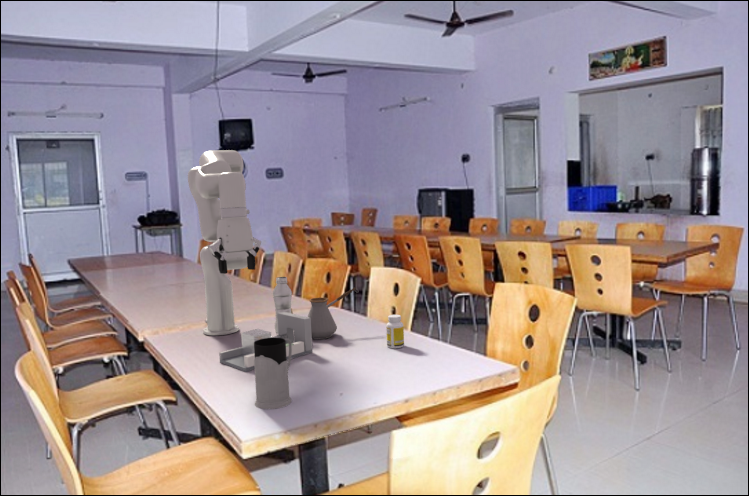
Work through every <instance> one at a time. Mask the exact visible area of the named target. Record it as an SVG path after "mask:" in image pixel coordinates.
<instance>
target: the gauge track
mask: <svg viewBox="0 0 749 496" xmlns="http://www.w3.org/2000/svg"><path fill="white" fill-rule="evenodd" d="M277 315H278V332H279V334H278V335H282V334H286V333H287V334H288V339H290V341H291V345H292V355H291V360H292V359H295V358H299V357H302V356H305V355H309V354H313V339H312V333H311V318H310V317H308V316H305V315H300V314H297V313H296V314H294V313H293V314H292V313H287V312H280V313H277ZM293 329H294V331H293ZM218 354H219V363H221V364H224V365H226V366H228V367H232V368H234V369H237V370H240V371H242V372H244V373H246V372H250V371H253V370H254V371H255V367H254V359H255V354H250V355H246V356H243V355H242V346H241V347H235V348H232V349H228V350H224V351H221V352H218ZM288 357H289V343H288V340H286V358H287V361H288Z"/></svg>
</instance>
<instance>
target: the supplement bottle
mask: <svg viewBox="0 0 749 496" xmlns="http://www.w3.org/2000/svg"><path fill="white" fill-rule="evenodd" d="M387 318H388V322H387V323H386V325H385V326H386V329H385V331H386V345H387V348H389V349H401V348H403V347H404V346H405V330H404V327H405V326H404V323H403V322H402V316H401V315H400V314H390V315H388V316H387Z"/></svg>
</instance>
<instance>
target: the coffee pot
mask: <svg viewBox="0 0 749 496" xmlns="http://www.w3.org/2000/svg"><path fill="white" fill-rule="evenodd" d="M353 292H356V293H359V289H358V288H357V287H353V288H351V289H349V290H348V291H345V292H344V293H343V294H341V295H339V296H338V297H337V298H336V299H335V300H333V301H331V302H329V303H328V301H329V298H328V297H313V298H310V299H309V303H310V304H311V306H310V309H309V312H308V315H307V317H310V318H311V333H312V340H324V339H328V338H331V337H332V336H333V335H334V334H335V333H336V332H337V329H338V326H337V324H336V321H335V320H334V317H333V315H332V313H331V311H330V309H329V308H330V307H331V306H333V305H334V304H335V303H337V302H339V301H341V300H342V299H344V298H346V297H348V295H350V293H351V294H352V293H353Z"/></svg>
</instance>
